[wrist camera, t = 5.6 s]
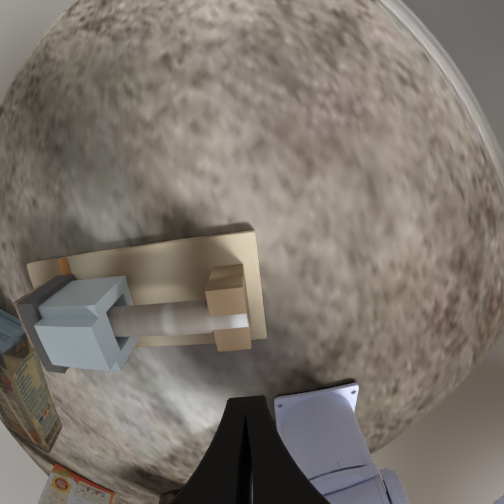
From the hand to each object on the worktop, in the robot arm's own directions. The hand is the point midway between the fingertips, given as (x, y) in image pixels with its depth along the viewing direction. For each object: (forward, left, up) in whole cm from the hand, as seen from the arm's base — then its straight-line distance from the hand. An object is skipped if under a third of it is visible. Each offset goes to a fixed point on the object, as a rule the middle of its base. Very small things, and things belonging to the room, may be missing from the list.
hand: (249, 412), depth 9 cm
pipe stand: (+1, +9, -10) cm, 14 cm away
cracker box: (-42, +40, -11) cm, 59 cm away
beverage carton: (-9, +29, -11) cm, 32 cm away
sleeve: (+1, +10, -9) cm, 14 cm away
